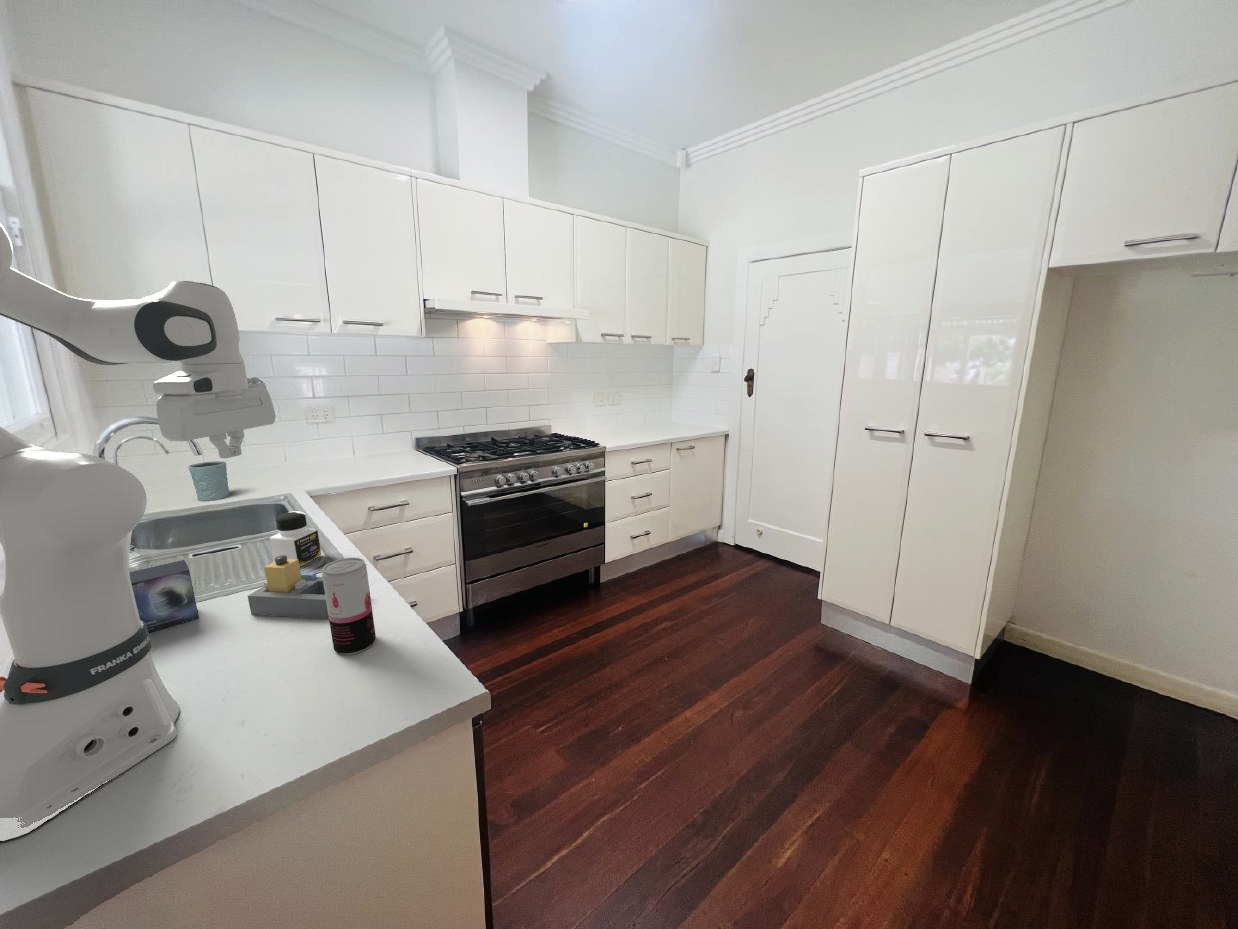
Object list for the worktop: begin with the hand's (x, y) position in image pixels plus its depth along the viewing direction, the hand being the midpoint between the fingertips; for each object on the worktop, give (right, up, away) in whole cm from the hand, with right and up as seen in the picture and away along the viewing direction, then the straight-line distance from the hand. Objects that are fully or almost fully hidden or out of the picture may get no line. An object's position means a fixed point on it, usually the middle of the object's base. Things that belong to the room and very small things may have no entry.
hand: (231, 456), depth 91 cm
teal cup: (-70, -13, +82) cm, 109 cm away
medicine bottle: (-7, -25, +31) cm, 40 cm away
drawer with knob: (+4, -30, +10) cm, 32 cm away
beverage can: (+25, -33, -4) cm, 42 cm away
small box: (-15, -32, +3) cm, 35 cm away
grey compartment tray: (+8, -30, +9) cm, 32 cm away
